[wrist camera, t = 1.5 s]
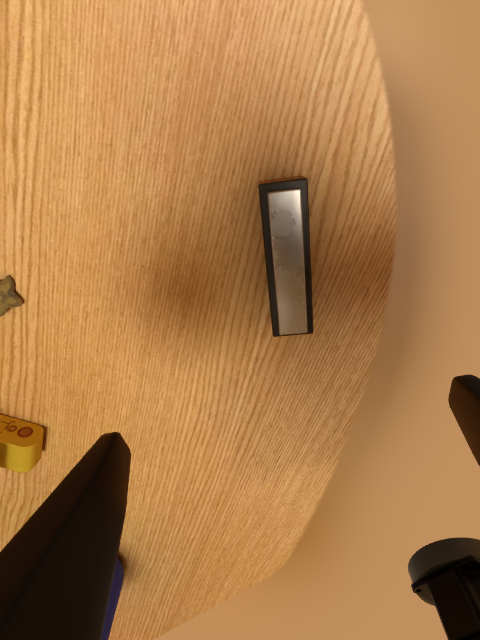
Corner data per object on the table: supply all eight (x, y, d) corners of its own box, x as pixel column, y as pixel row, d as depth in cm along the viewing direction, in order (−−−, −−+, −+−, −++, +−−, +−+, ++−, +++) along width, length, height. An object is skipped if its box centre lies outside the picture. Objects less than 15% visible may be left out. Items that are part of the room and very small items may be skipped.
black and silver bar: (309, 319, 22) (315, 338, 19) (272, 322, 22) (273, 342, 20) (303, 175, 18) (309, 178, 16) (258, 181, 18) (258, 185, 16)
